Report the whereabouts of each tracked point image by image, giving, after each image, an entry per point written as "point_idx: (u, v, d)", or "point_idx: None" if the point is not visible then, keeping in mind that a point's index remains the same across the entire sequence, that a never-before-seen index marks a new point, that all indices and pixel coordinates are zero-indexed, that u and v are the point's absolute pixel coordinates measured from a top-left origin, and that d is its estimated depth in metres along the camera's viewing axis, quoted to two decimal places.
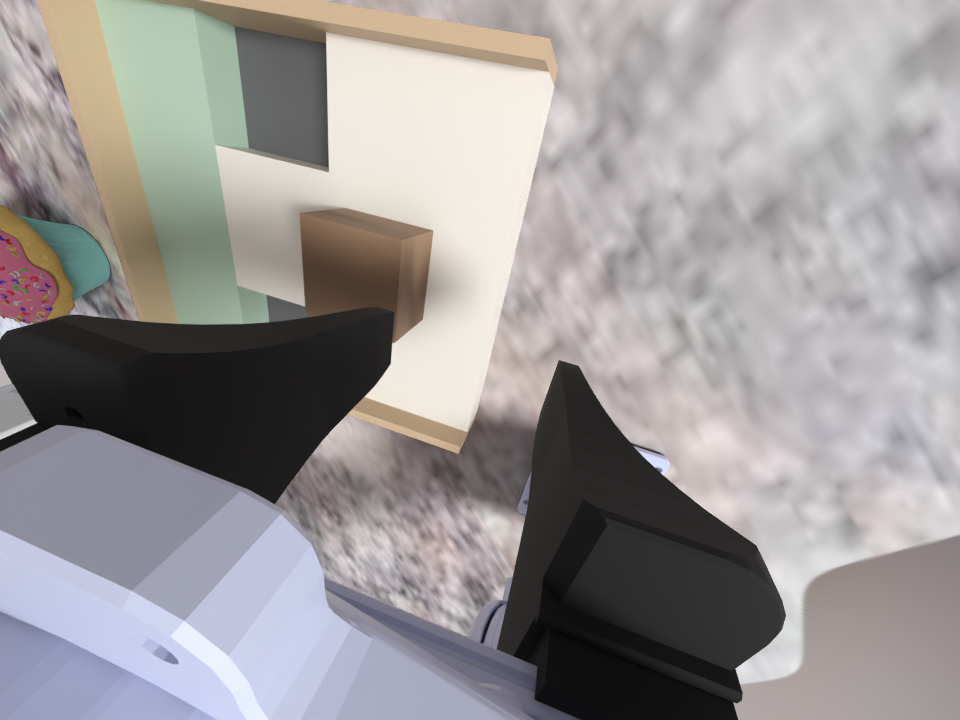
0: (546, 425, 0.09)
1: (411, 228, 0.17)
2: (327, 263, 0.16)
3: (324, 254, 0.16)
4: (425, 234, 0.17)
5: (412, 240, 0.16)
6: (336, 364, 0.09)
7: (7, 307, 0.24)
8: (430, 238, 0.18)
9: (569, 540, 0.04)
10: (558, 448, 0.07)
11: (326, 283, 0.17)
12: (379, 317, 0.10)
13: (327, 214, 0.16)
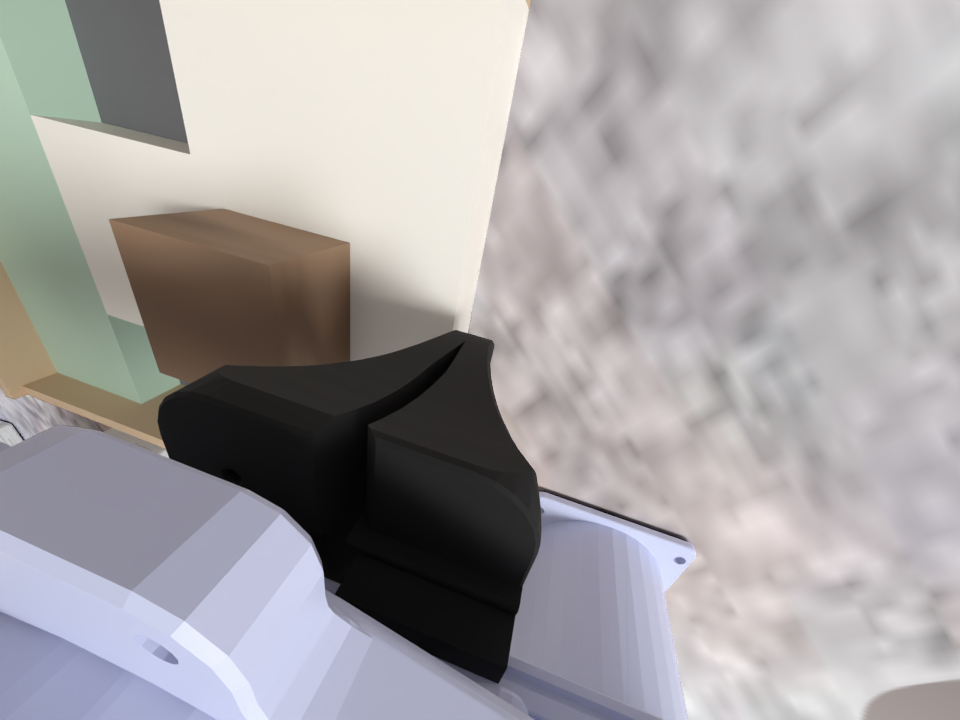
0: None
1: (311, 240, 0.11)
2: (168, 298, 0.10)
3: (161, 285, 0.10)
4: (331, 250, 0.11)
5: (298, 263, 0.10)
6: None
7: None
8: (344, 255, 0.12)
9: (368, 467, 0.05)
10: None
11: (174, 328, 0.11)
12: None
13: (167, 220, 0.10)
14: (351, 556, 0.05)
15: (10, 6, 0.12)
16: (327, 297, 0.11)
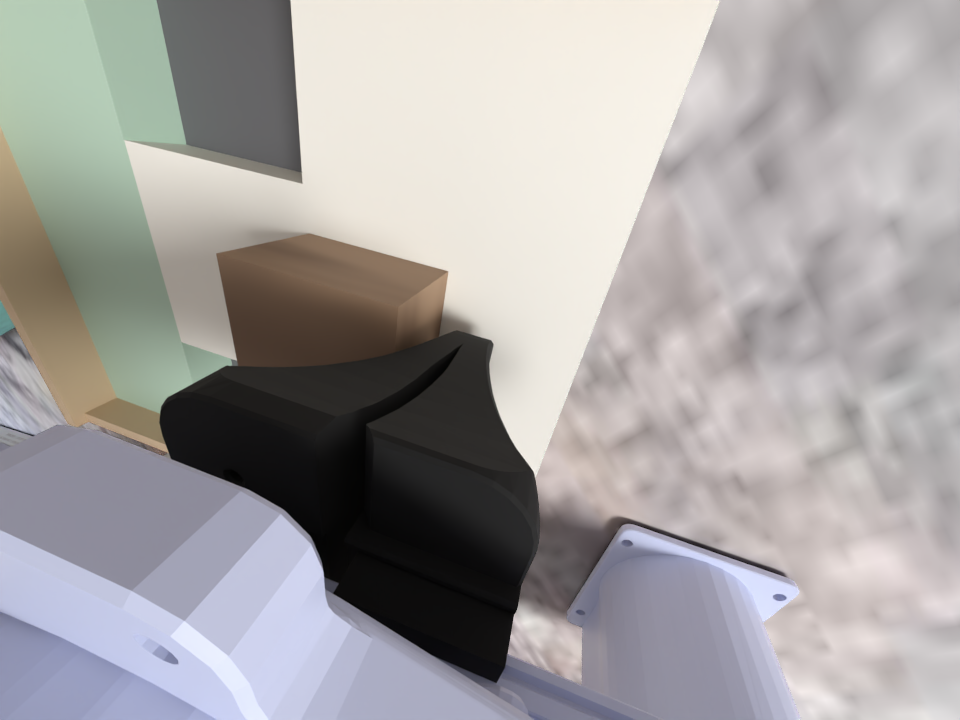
0: None
1: (413, 270, 0.10)
2: (271, 335, 0.10)
3: (265, 321, 0.09)
4: (436, 281, 0.10)
5: (415, 300, 0.09)
6: None
7: None
8: (443, 284, 0.11)
9: (366, 467, 0.05)
10: None
11: (272, 364, 0.10)
12: None
13: (270, 252, 0.10)
14: (350, 555, 0.05)
15: (111, 27, 0.11)
16: (427, 329, 0.11)
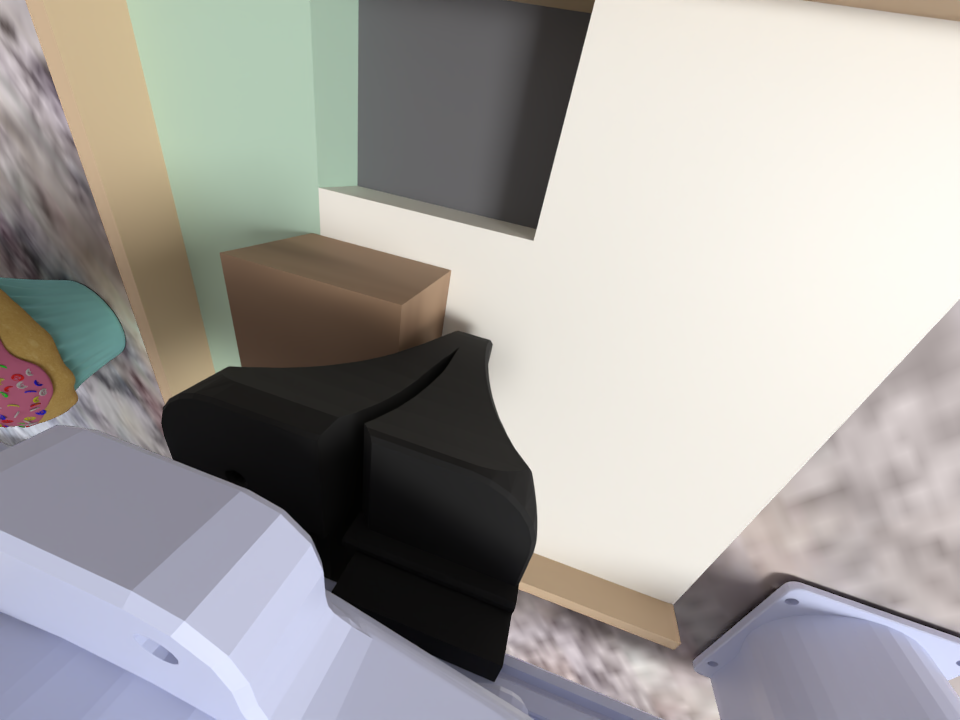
0: None
1: (416, 269, 0.10)
2: (274, 334, 0.10)
3: (268, 321, 0.09)
4: (439, 280, 0.10)
5: (418, 299, 0.09)
6: None
7: None
8: (446, 283, 0.11)
9: (365, 466, 0.05)
10: None
11: (275, 364, 0.10)
12: None
13: (273, 251, 0.10)
14: (348, 555, 0.05)
15: (325, 68, 0.10)
16: (430, 328, 0.11)
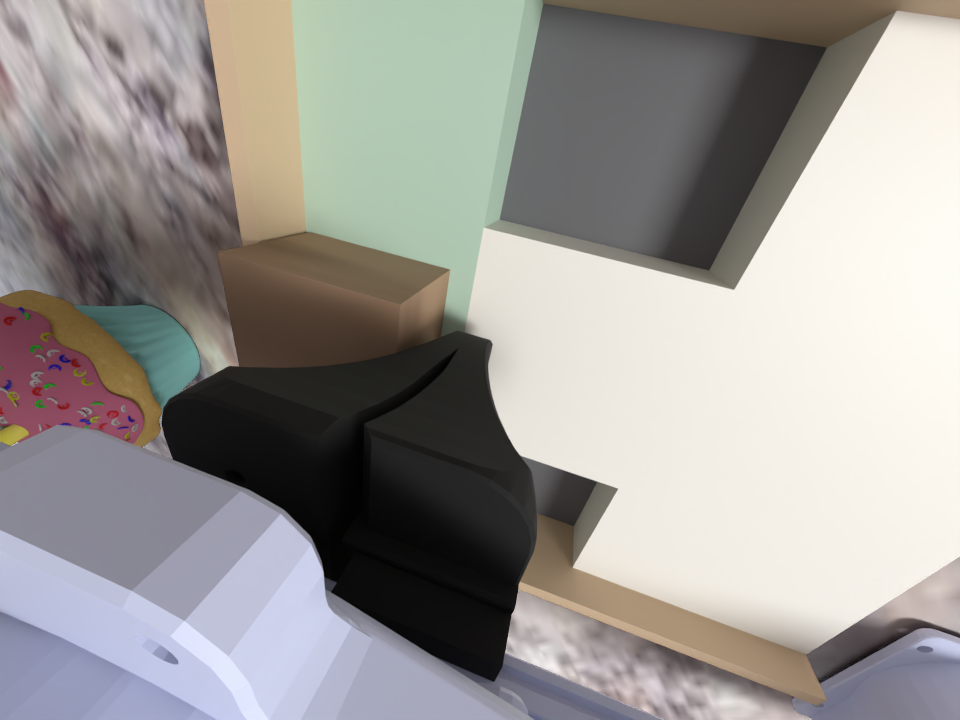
0: None
1: (415, 269, 0.10)
2: (272, 333, 0.10)
3: (266, 320, 0.09)
4: (438, 279, 0.10)
5: (417, 298, 0.09)
6: None
7: None
8: (445, 282, 0.11)
9: (364, 466, 0.05)
10: None
11: (274, 363, 0.10)
12: None
13: (271, 250, 0.10)
14: (348, 555, 0.05)
15: (511, 102, 0.09)
16: (429, 328, 0.11)
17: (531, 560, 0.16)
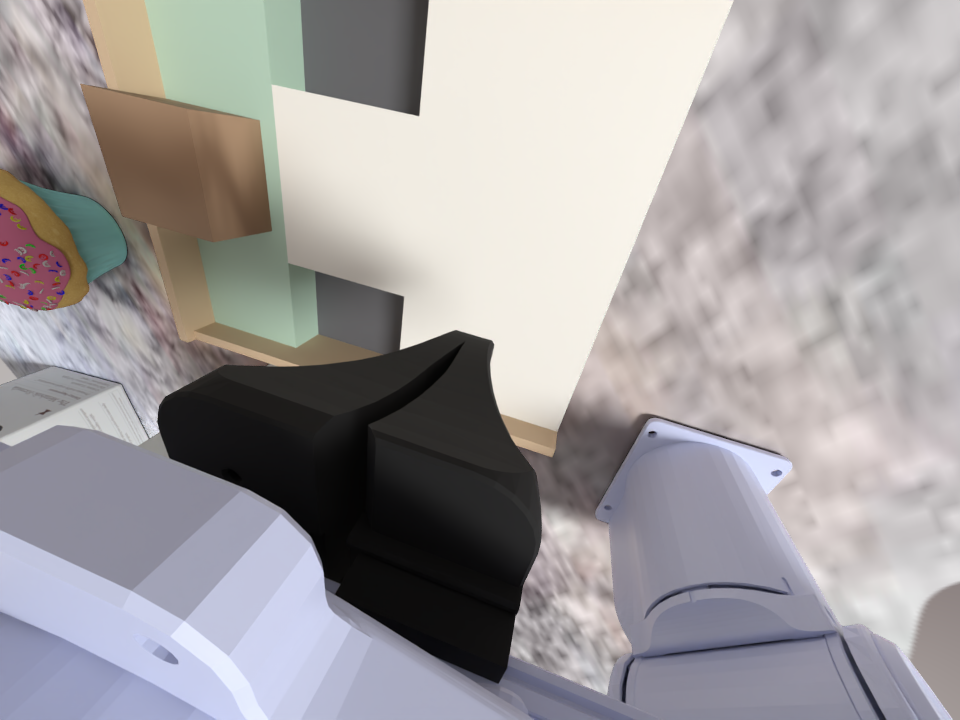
0: None
1: (228, 114, 0.16)
2: (124, 146, 0.15)
3: (118, 135, 0.14)
4: (241, 119, 0.15)
5: (211, 117, 0.14)
6: None
7: (12, 290, 0.21)
8: (255, 128, 0.16)
9: (368, 467, 0.05)
10: None
11: (130, 172, 0.15)
12: None
13: (123, 91, 0.15)
14: (351, 556, 0.05)
15: None
16: (242, 157, 0.16)
17: None
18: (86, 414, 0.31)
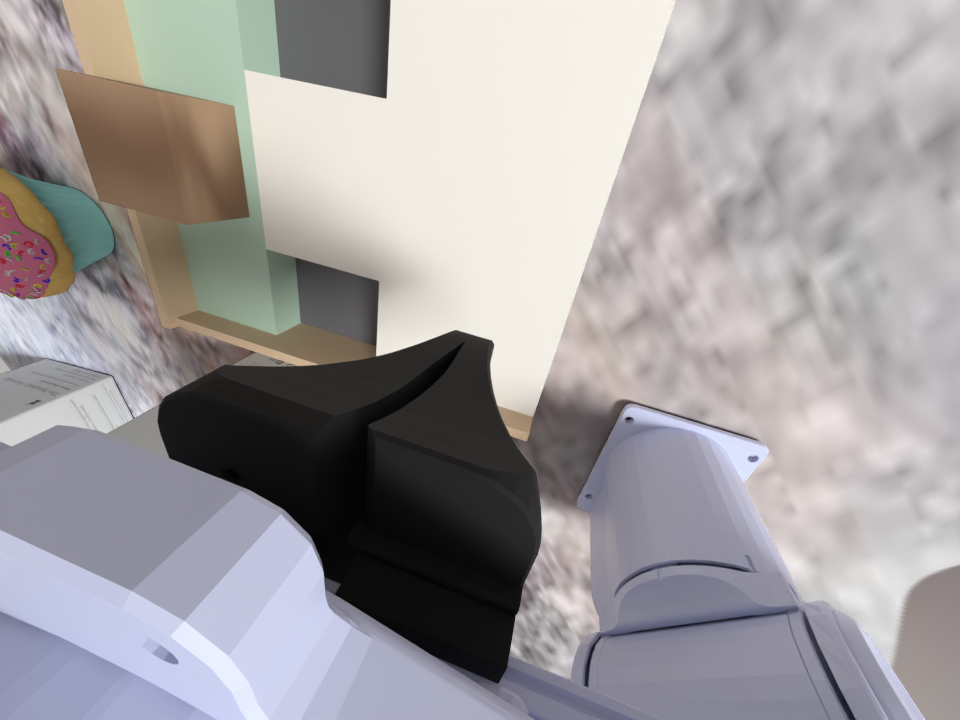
0: None
1: (202, 99, 0.16)
2: (98, 130, 0.15)
3: (92, 119, 0.15)
4: (215, 104, 0.16)
5: (183, 100, 0.14)
6: None
7: None
8: (230, 114, 0.16)
9: (368, 467, 0.05)
10: None
11: (105, 156, 0.15)
12: None
13: (98, 77, 0.15)
14: (351, 556, 0.05)
15: None
16: (216, 142, 0.16)
17: (344, 360, 0.21)
18: (76, 405, 0.32)
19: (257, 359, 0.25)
